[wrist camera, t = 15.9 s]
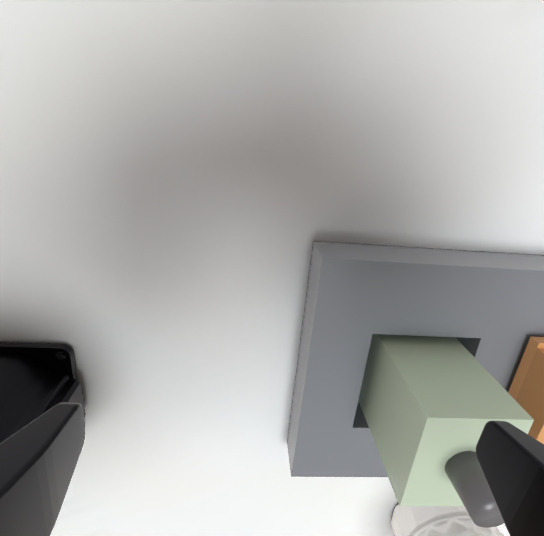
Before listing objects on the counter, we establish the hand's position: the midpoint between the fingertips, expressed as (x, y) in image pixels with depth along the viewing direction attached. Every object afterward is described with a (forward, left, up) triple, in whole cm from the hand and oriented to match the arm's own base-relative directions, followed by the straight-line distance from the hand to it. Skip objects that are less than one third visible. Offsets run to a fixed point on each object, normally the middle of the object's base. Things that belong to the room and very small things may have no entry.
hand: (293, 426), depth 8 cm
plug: (+8, -6, -11) cm, 15 cm away
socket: (+10, -6, -12) cm, 17 cm away
